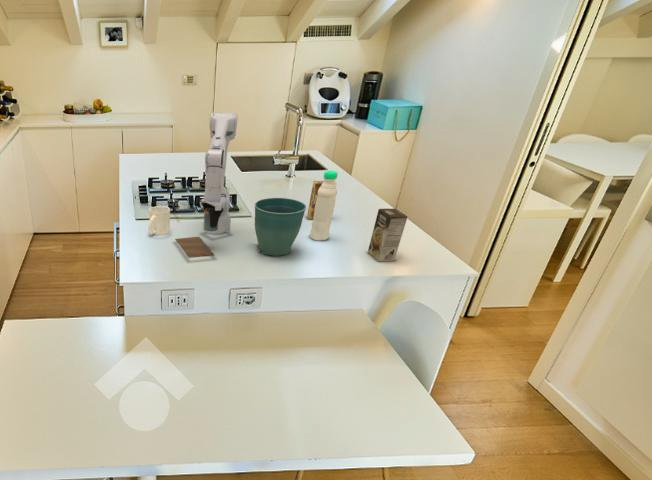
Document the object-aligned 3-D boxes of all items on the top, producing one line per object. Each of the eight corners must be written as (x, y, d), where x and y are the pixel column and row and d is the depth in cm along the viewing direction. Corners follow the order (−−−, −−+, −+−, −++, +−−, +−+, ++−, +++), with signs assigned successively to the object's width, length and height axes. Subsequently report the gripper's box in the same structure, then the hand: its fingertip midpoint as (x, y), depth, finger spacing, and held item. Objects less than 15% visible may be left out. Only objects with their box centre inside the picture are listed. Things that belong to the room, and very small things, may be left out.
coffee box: (366, 252, 188) (377, 208, 179) (383, 251, 189) (395, 207, 179) (377, 261, 181) (390, 216, 171) (395, 261, 181) (408, 215, 172)
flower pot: (289, 263, 181) (296, 216, 171) (242, 254, 189) (246, 208, 179) (304, 247, 193) (312, 202, 183) (260, 239, 201) (265, 195, 191)
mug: (158, 242, 200) (158, 216, 194) (140, 238, 204) (140, 213, 197) (173, 233, 208) (173, 208, 202) (156, 229, 212) (156, 205, 205)
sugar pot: (212, 225, 190) (213, 204, 185) (221, 229, 186) (222, 208, 182) (199, 228, 188) (201, 207, 183) (209, 232, 184) (210, 211, 179)
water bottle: (328, 235, 203) (341, 170, 188) (327, 241, 197) (341, 174, 183) (310, 234, 205) (321, 168, 190) (308, 240, 199) (320, 173, 185)
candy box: (308, 219, 219) (314, 183, 210) (306, 216, 222) (312, 180, 213) (329, 219, 218) (336, 183, 209) (327, 216, 222) (334, 180, 213)
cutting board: (174, 242, 200) (174, 238, 199) (199, 240, 201) (199, 236, 200) (188, 261, 184) (188, 257, 183) (214, 259, 185) (215, 255, 184)
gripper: (196, 181, 183) (195, 219, 191) (208, 192, 172) (206, 231, 180) (215, 180, 184) (212, 217, 192) (228, 191, 173) (225, 230, 181)
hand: (210, 224), depth 186 cm, fingers closed on sugar pot, 5 cm apart
